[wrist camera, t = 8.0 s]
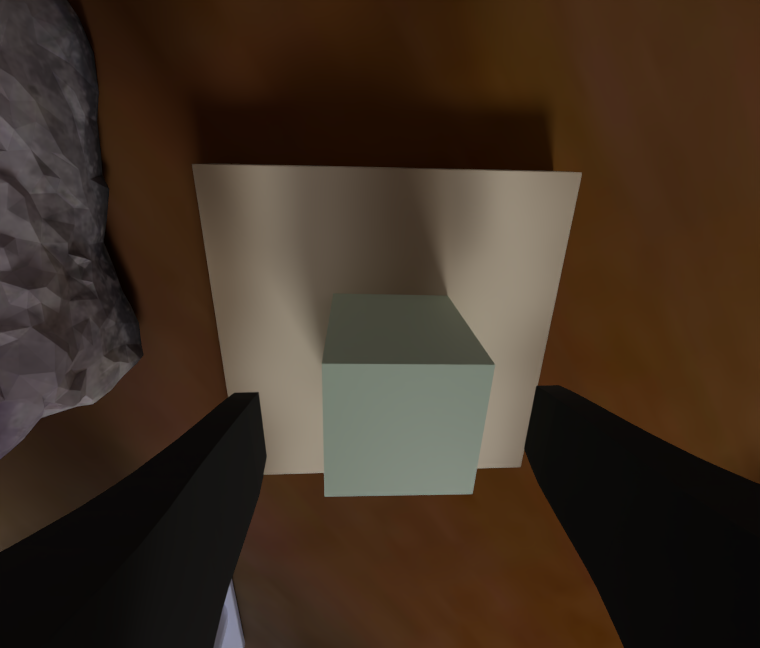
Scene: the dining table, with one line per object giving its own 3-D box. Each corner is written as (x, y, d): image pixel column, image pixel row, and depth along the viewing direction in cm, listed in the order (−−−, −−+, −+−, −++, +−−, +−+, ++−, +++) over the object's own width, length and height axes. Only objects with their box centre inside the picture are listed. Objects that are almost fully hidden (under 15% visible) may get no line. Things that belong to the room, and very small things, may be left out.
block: (333, 392, 15) (324, 496, 10) (333, 293, 13) (321, 363, 9) (436, 392, 15) (472, 493, 11) (447, 295, 14) (495, 364, 9)
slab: (254, 435, 18) (240, 475, 16) (219, 163, 14) (191, 164, 11) (500, 430, 19) (520, 466, 17) (546, 170, 15) (582, 172, 12)
